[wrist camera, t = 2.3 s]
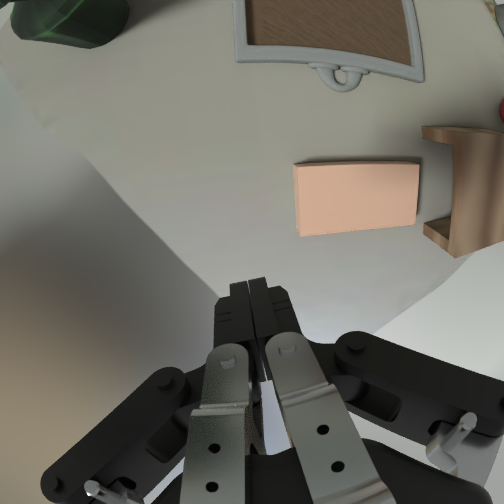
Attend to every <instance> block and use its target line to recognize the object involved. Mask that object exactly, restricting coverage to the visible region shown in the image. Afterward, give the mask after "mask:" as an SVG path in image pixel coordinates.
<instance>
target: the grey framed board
mask: <svg viewBox="0 0 504 504" xmlns="http://www.w3.org/2000/svg"><path fill="white" fill-rule="evenodd" d="M233 23H234V45H235V61H236V63H300V64H308V66H309V67H310V68H312V69H317V71H318V73H319V75H320V77H321V79H322V80H323V82H324V83H325V84H326V85H327V86H328V87H330V88H331V89H333V90H335V91H338V92H348V91H351V90H352V89H354V88H355V87H356V86H357V85H358V83H359V82H360V79H361V76H362V75H366V74H368V73H369V72H374V73H379V74H383V75H388V76H393V77H397V78H401V79H405V80H409V81H413V82H416V83H421V82H424V74H423V63H422V53H421V45H420V38H419V32H418V26H417V21H416V15H415V11H414V6H413V2H412V0H233ZM339 67H340V70H341V71H343V72H347V82H346V83H345V84H339V83H337V82H336V81H335V79H334V75H333V70H338V69H339Z"/></svg>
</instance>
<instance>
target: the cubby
mask: <svg viewBox="0 0 504 504" xmlns="http://www.w3.org/2000/svg"><path fill="white" fill-rule="evenodd" d="M422 133H423V139H426V140H431V141H436V142H440V143H445V144H449V145H453V199H452V214H451V217H449V218H445V219H440V220H436V221H431V222H427V223H424V230H423V234H424V235H425V236H427V237H428V238H430V239H431V240H432V241H433V242H435V243H436V244H437V245H439V246H440V247H441V248H443V249H444V250H445V251H446V252H448V253H449V254H450V255H451V256H453V257H454V258H457V257H460V256H463V255H466V254H468V253H471V252H474V251H477V250H480V249H482V248H485V247H488V246H491V245H493V244H496V243H498V242H501V241H504V133H502V132H497V131H493V130H488V129H481V128H466V127H437V126H422Z"/></svg>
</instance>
